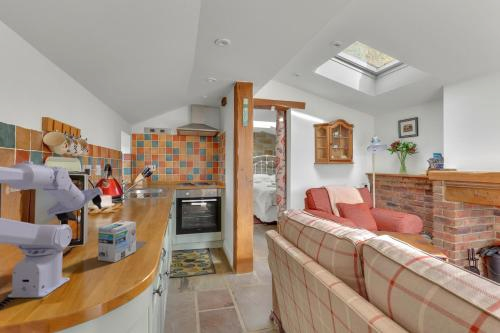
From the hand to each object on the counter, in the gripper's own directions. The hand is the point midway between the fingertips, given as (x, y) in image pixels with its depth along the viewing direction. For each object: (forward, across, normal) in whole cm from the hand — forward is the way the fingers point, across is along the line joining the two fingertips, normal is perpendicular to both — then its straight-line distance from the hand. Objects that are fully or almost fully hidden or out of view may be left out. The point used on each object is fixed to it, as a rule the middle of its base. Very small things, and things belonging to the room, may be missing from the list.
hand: (87, 212), depth 82 cm
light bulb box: (+10, -1, +15) cm, 18 cm away
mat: (+18, -4, +11) cm, 21 cm away
